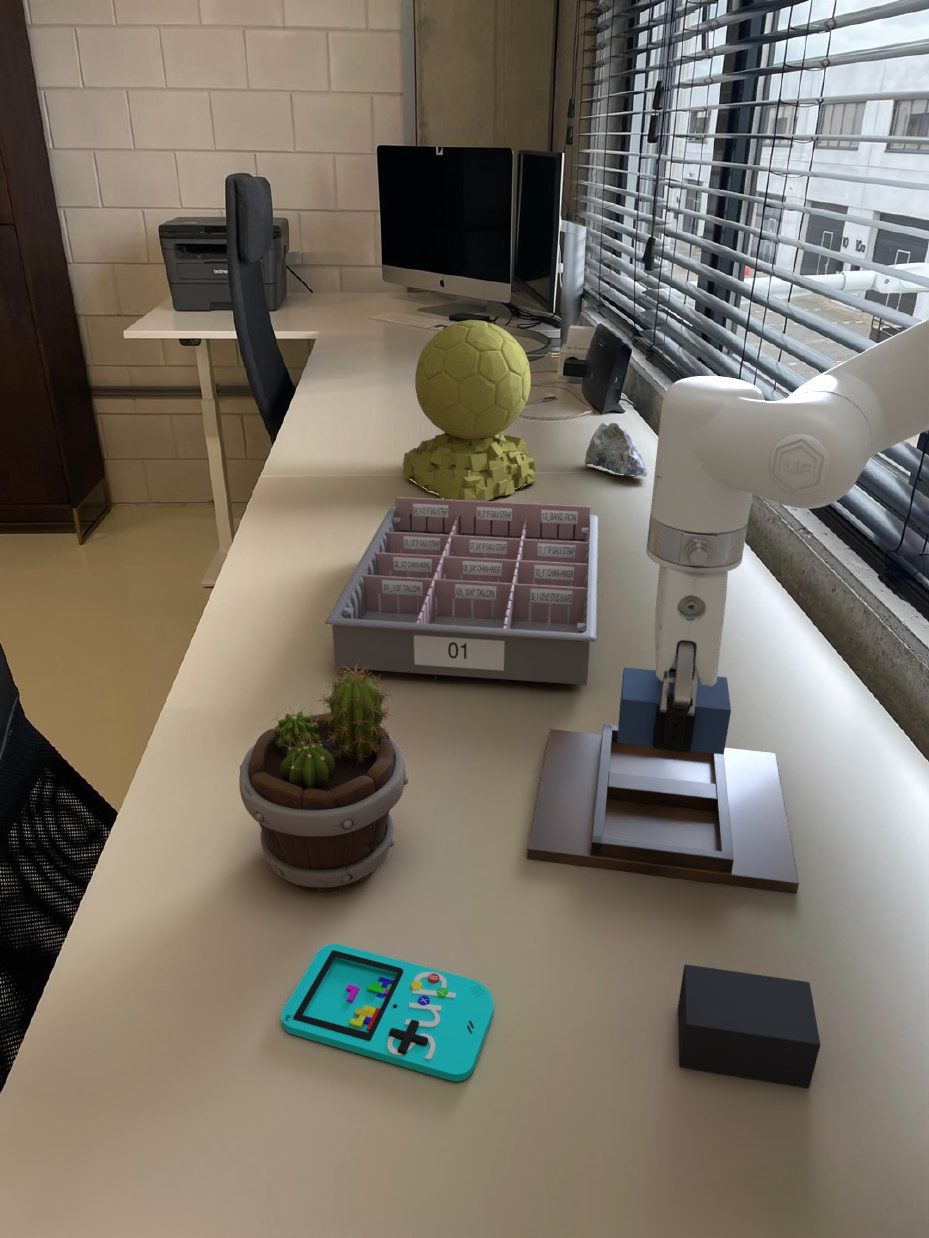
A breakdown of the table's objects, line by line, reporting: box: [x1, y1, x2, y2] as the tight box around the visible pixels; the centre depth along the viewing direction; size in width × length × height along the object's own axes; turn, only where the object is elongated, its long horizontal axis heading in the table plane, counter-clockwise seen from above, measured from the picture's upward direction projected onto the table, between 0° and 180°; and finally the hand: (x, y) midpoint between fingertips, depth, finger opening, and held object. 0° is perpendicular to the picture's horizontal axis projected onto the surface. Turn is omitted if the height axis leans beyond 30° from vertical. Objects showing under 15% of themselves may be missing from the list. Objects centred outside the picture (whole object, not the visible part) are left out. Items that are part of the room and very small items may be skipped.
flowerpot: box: [238, 659, 409, 892], centre depth 83 cm, size 14×15×20 cm
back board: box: [526, 723, 800, 894], centre depth 93 cm, size 24×20×3 cm
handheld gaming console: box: [281, 943, 494, 1082], centre depth 72 cm, size 8×1×15 cm
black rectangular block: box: [677, 963, 821, 1089], centre depth 68 cm, size 9×6×4 cm, turn 79°
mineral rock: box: [584, 422, 648, 478], centre depth 183 cm, size 13×11×10 cm
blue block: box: [617, 667, 732, 754], centre depth 83 cm, size 9×6×4 cm, turn 80°
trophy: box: [402, 319, 537, 501], centre depth 174 cm, size 22×22×30 cm
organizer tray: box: [324, 496, 599, 686], centre depth 129 cm, size 32×40×10 cm
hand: (670, 726), depth 83 cm, fingers closed on blue block, 5 cm apart
